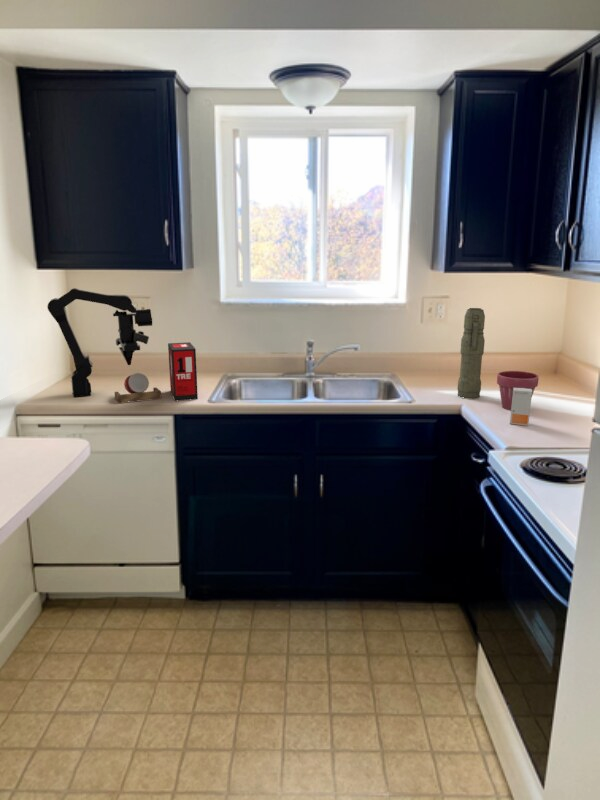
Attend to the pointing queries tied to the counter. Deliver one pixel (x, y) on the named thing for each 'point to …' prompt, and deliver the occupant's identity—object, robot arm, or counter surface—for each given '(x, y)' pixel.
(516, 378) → the plant pot
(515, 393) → the skincare box
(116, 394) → the tan bone-shaped block
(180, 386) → the cleaning product box
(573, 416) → the counter surface
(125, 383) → the canned food
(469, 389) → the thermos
